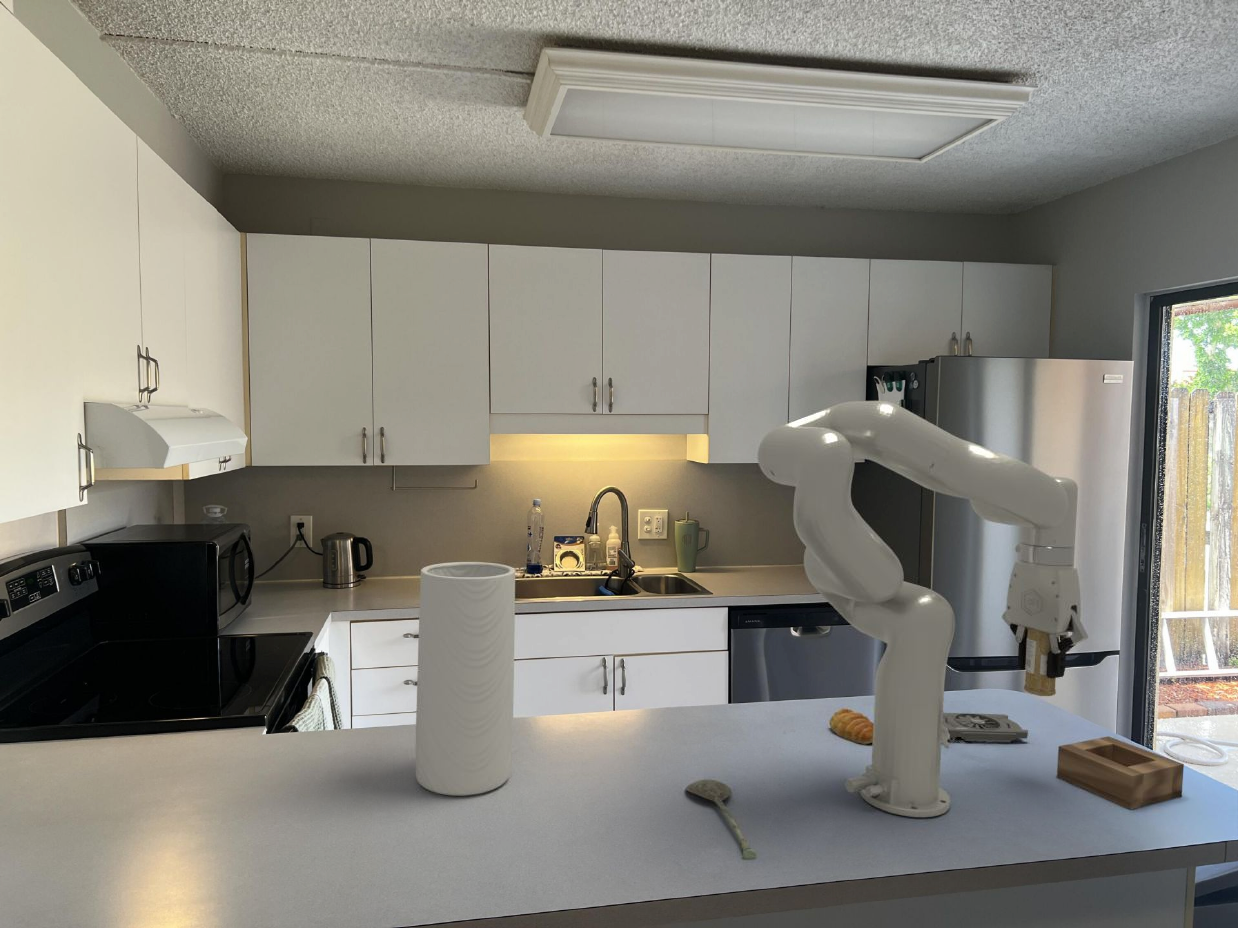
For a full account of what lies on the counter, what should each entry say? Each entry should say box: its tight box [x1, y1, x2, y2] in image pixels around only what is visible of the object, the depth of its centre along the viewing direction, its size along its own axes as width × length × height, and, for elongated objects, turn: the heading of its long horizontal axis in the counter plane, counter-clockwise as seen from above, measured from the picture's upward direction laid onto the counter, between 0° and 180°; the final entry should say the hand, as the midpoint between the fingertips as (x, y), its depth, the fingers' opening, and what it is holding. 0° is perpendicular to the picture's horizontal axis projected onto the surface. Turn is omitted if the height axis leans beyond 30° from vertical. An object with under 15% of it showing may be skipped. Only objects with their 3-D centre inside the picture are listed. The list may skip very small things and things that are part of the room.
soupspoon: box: [685, 779, 757, 860], centre depth 116 cm, size 22×3×7 cm
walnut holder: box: [1056, 736, 1185, 811], centre depth 130 cm, size 12×12×5 cm
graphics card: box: [941, 712, 1029, 749], centre depth 150 cm, size 17×4×12 cm
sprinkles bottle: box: [1023, 628, 1057, 697], centre depth 131 cm, size 5×5×14 cm
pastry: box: [829, 708, 874, 745], centre depth 148 cm, size 9×7×4 cm
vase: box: [414, 561, 516, 797], centre depth 125 cm, size 14×14×32 cm
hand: (1040, 671), depth 131 cm, fingers closed on sprinkles bottle, 4 cm apart
